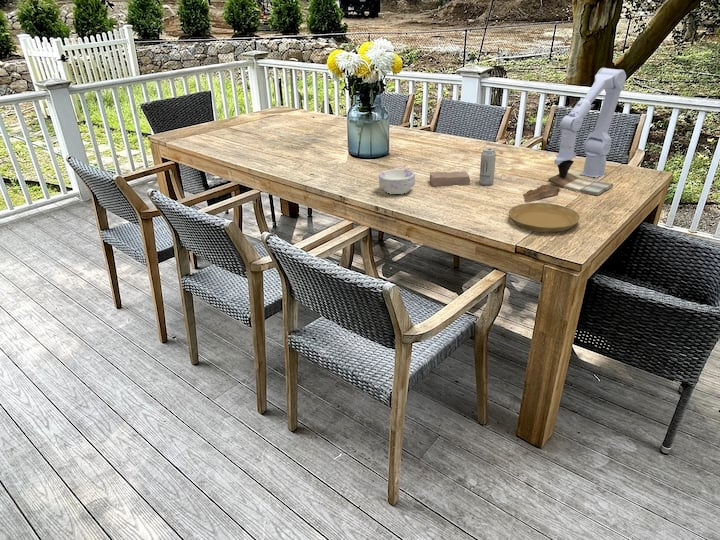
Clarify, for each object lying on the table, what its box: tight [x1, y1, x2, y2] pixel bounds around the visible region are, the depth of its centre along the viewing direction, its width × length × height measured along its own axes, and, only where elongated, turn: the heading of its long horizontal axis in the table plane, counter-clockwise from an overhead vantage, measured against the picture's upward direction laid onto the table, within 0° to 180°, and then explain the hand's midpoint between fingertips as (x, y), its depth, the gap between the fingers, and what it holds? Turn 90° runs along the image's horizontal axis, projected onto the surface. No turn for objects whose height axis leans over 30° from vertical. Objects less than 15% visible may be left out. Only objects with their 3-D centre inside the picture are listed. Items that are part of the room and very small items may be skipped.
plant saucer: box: [508, 202, 581, 233], centre depth 184 cm, size 24×24×3 cm
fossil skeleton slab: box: [522, 184, 561, 204], centre depth 210 cm, size 26×11×1 cm, turn 129°
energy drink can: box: [478, 147, 497, 187], centre depth 220 cm, size 6×6×15 cm
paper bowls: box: [378, 168, 416, 195], centre depth 217 cm, size 15×15×8 cm
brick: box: [429, 170, 471, 187], centre depth 225 cm, size 17×8×5 cm, turn 93°
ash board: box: [562, 177, 596, 193], centre depth 216 cm, size 14×7×1 cm, turn 133°
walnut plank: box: [547, 172, 580, 189], centre depth 220 cm, size 14×7×1 cm, turn 133°
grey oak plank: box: [579, 180, 614, 196], centre depth 211 cm, size 14×7×1 cm, turn 133°
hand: (562, 177), depth 220 cm, fingers closed, pressing on walnut plank
